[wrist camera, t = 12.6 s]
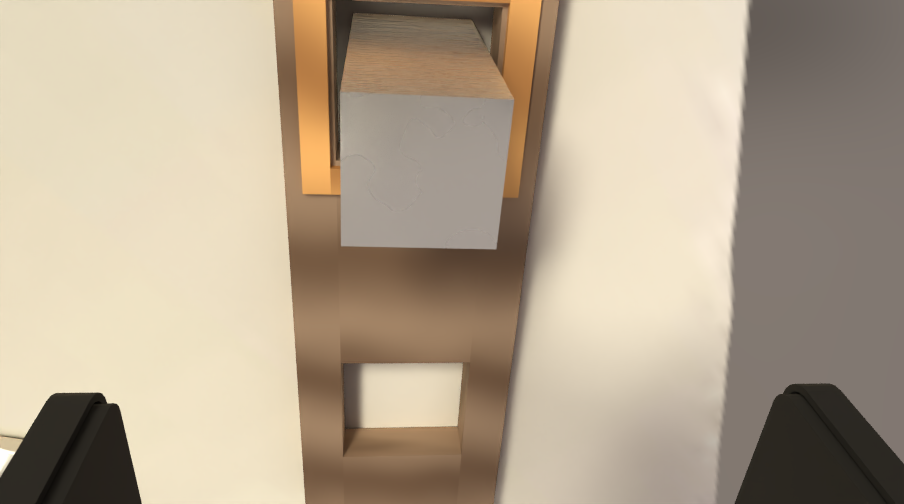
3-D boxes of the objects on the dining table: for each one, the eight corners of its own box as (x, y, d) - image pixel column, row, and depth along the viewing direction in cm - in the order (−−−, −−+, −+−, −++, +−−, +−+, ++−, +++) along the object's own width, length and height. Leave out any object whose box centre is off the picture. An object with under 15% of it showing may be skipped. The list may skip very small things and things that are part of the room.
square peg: (462, 130, 29) (496, 249, 20) (353, 126, 28) (340, 246, 20) (471, 19, 27) (514, 99, 18) (353, 12, 26) (340, 91, 18)
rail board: (486, 490, 40) (492, 523, 38) (310, 495, 39) (306, 530, 37) (564, -152, 24) (581, -152, 22) (270, -173, 23) (260, -175, 21)
